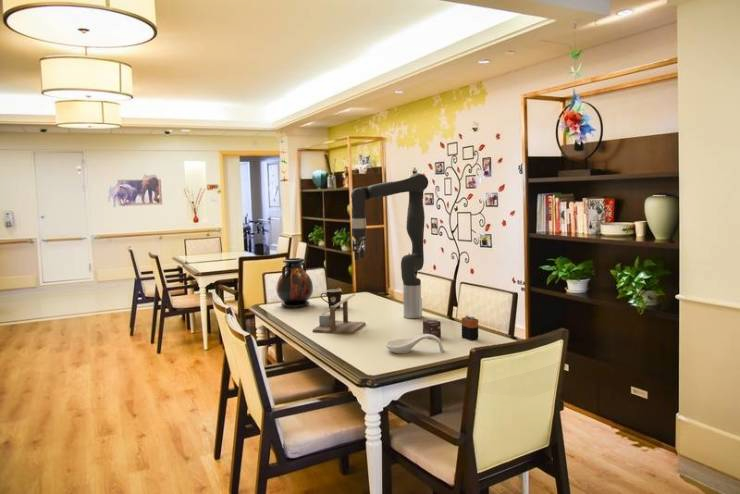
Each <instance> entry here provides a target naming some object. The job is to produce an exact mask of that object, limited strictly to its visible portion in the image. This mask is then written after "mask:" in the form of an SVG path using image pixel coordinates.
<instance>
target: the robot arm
mask: <svg viewBox="0 0 740 494" xmlns="http://www.w3.org/2000/svg"><path fill="white" fill-rule="evenodd" d="M428 186H429V179H428V177H427V176H426V175H424V174H422V173H418V172H416V173H413V174H411V175H410V176H409V177H408V178H404V179H401V180H395V181H387V182H380V183H375V184H372V185H368V186H361V187H356V188H354V189H352V191H351V193H350V198H351V205H352V206H351V207H352V208H351V237H353V238H354V239H352V250H351V251H352V252H353V253H354V260H355V261H359V260H360V259H365V250H366V249H367V242H366V241H367V240H366V239H367V238H366V237H367V218H366V201H368V200H372V199H374V200H375V199H378V198H384V197H388V196H389V197H390V196H392V195H398V194H401V193H408V206H407V216H406V225H405V227H406V232H407V235H408V237H409V240H410V242H411V253H410V254H406V255H403V256H402V258H401V261H400V271H401V272H400V273H401V279H402V282H403V283H402V284H403V285H402V287H403V288H402V291H403V318H405V319H421V317H422V316H423V298H422V281H421V278H419V277H416V273H415V272H418V271H421V270H422V269H423V267H424V263H425V262H424V261H425V255H424V234H425V233H424V231H425V220H426V219H425V209H424V208H425V207H424V192H425V190H426V189H427V188H428Z"/></svg>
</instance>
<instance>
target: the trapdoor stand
mask: <svg viewBox="0 0 740 494" xmlns="http://www.w3.org/2000/svg"><path fill="white" fill-rule="evenodd" d="M344 299H345V298H344ZM344 299H342V300H344ZM348 302H349V301H348V300H347V301H346V302H344V303H342V320H336V309H335V306H330V311H329V314H330V326H320V324H318V325H317V326H316V327H314V328H313V329H312V333H326V334H337V335H341V334H342V335H353V334H355V333H356V332H357V331H359V330H360V329H362V328H363V327H364V326H365V325H366V321H350V320H349V309H348V308H349V307H348V306H349V305H348V304H349V303H348Z"/></svg>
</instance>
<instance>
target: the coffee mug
mask: <svg viewBox="0 0 740 494" xmlns="http://www.w3.org/2000/svg"><path fill="white" fill-rule="evenodd" d="M322 295H326V297H327V300H326V299H324V298H323V297H322ZM320 298H321V299H322V301H324V302H326V303H327V304H328V309H329V308H330V306H334V305H335V304H337V303H339V302H340V301H342V289H335V288H334V289H327V290H326V292H322V293H321V294H320ZM340 308H341V305H339V306H338V307H336V308H335V310H336V309H340Z"/></svg>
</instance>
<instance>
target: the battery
mask: <svg viewBox="0 0 740 494" xmlns="http://www.w3.org/2000/svg"><path fill="white" fill-rule="evenodd" d="M461 339H465V340H468V341H472V342H473V341H477V340H478V339H479V319H478V318H475V316H469V315H465V316H464V317H462V318H461Z"/></svg>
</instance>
